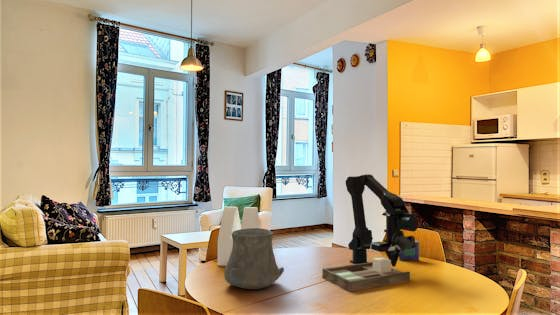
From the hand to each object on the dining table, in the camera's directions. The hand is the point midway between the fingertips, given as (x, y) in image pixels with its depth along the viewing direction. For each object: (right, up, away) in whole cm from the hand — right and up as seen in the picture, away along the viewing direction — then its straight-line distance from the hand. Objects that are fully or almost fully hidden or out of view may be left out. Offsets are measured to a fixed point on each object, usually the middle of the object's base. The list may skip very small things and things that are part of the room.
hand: (393, 266), depth 149 cm
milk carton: (-64, -4, +22) cm, 68 cm away
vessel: (-56, -3, -14) cm, 57 cm away
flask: (+14, -4, +23) cm, 28 cm away
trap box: (-13, -3, -6) cm, 15 cm away
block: (-6, -1, -3) cm, 6 cm away
